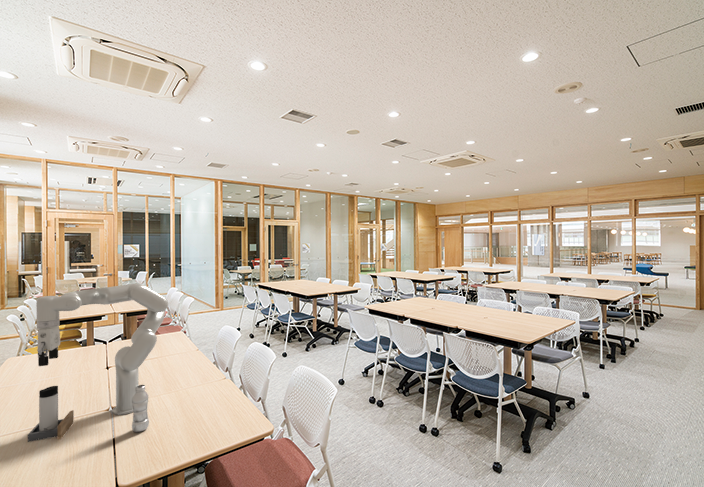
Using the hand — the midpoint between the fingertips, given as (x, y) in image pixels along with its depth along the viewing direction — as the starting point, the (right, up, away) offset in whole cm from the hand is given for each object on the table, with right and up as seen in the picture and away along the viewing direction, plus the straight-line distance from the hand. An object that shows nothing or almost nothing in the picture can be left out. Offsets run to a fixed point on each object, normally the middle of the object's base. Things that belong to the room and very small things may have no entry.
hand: (48, 361), depth 147 cm
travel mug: (0, -32, 0) cm, 32 cm away
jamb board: (+6, -32, +2) cm, 33 cm away
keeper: (0, -32, 0) cm, 32 cm away
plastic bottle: (+40, -32, +2) cm, 51 cm away
